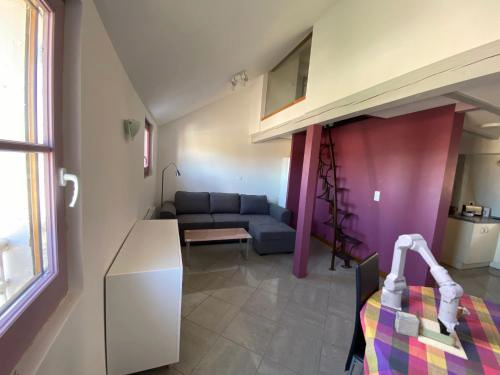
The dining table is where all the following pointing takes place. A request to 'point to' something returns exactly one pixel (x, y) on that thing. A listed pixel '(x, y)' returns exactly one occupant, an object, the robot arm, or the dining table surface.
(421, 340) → the board
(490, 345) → the dining table surface
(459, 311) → the bull figurine
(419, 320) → the fixed fence section
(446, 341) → the hinged fence panel
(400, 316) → the medicine box
